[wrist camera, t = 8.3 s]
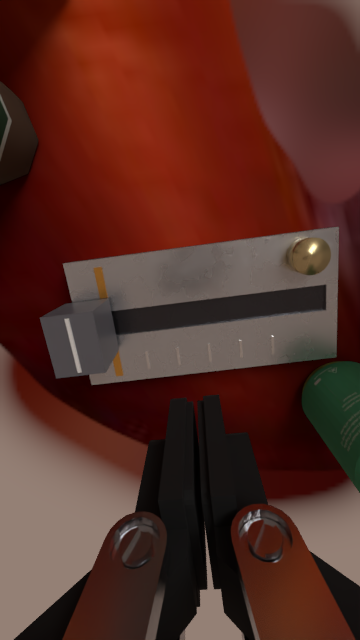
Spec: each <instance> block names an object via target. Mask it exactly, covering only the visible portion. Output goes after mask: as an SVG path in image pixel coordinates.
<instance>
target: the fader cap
mask: <svg viewBox="0 0 360 640" xmlns="http://www.w3.org/2000/svg"><path fill="white" fill-rule="evenodd" d="M40 321H41V324H42V328H43V332H44V335H45V339H46V343H47V346H48V350H49V354H50V357H51V361H52V365H53V368H54V372H55V376H56V378H64V377H73V376H82V375H90V374H99V373H106V372H107V370H108V368H109V366H110V365H111V363H112V361H113V359H114V358H115V356H116V354H117V353H118V351H119V347H118V342H117V337H116V332H115V327H114V322H113V317H112V312H111V307H110V302H109V298H107V299H99V300H91V301H84V302H76V303H68V304H64V305H62V306H60V307H59V308H57V309H55V310H53V311H51V312H50V313H48V314H46V315H44V316H42V317H41V318H40Z"/></svg>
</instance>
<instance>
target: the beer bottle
mask: <svg viewBox="0 0 360 640" xmlns="http://www.w3.org/2000/svg"><path fill="white" fill-rule="evenodd" d="M37 144H38V138H37V136H36V133H35V131H34V128H33V126H32V124H31V121H30V119H29V116H28V114H27V112H26V109H25V107H24V104H23V102H22V101H21V100H20V99H19V98H18V97H17V96H16V95H15V94H14V93H13V92H12V91H11V90H10V89H9V88H8V87H6V86H5V85H4V84H3V83H2V82H1V81H0V185H1V184H4V183H6V182H9V181H11V180H14V179H16V178H19V177H21V176H24V175H26V174H28V173H29V170H30V166H31V163H32V160H33V157H34V154H35V150H36V147H37Z"/></svg>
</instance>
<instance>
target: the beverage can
mask: <svg viewBox="0 0 360 640" xmlns="http://www.w3.org/2000/svg"><path fill="white" fill-rule="evenodd" d="M302 407H303V411H304V413H305V415H306V416H307V418H308V419H309V420H310V422H311V423H312V425H313V426H314V428H315V429H316V431H317V432H318V433H319V435H320V436H321V438H322V439H323V441H324V442H325V443H326V445H327V446H328V448H329V449H330V451H331V452H332V454H333V455H334V456H335V458H336V459H337V461H338V462H339V464H340V465H341V466H342V468H343V469H344V471H345V472H346V474H347V475H348V477H349V478H350V479H351V481H352V482H353V484H354V485H355V487H356V488H357V489H358V491H359V492H360V363H357V362H351V361H336V362H330V363H327V364H325V365H322V366H320V367H319V368H317V369H316V370H315V371H313V372H312V373H311V374H310V375H309V377H308V378H307V380H306V382H305V384H304V386H303V390H302Z"/></svg>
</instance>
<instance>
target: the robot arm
mask: <svg viewBox="0 0 360 640" xmlns="http://www.w3.org/2000/svg"><path fill="white" fill-rule="evenodd" d="M198 428H199V443H198V436H197V428H196V421H195V413H194V406H193V401H192V402H187V399H186V398H178V399H171V400H170V408H169V416H168V424H167V432H166V439H163V440H151V441H150V442H149V445H148V451H147V455H146V461H145V465H144V470H143V475H142V480H141V485H140V490H139V495H138V500H137V505H136V510H135V513H132V514H129V515H126V516H125V517H123V518H122V519H120V520H119V521H118V522H117V523H116V524H115V525H114V526H113V527H112V528H111V529H110V531H109V533H108V534H107V536H106V538H105V540H104V542H103V545H102V547H101V549H100V552H99V554H98V556H97V559H96V561H95V564H94V566H93V568H92V570H91V571H90V572H88V573H87V574H86V575H85V576H84V577H83V578H82V579H81V580H80V581H78V582H77V583H76V584H75V585H74V586H73V587H72V588H71V589H69V590H68V591H67V592H66V593H65V594H64V595H63V596H62V597H61V598H60V599H58V600H57V601H56V602H55V603H54V604H53V605H52V606H51V607H49V608H48V609H47V610H46V611H45V612H44V613H43V614H42V615H41V616H39V617H38V618H37V619H36V620H35V621H34V622H33V623H32V624H30V625H29V626H28V627H27V628H26V629H25V630H24V631H23V632H22V633H20V635H18V636H17V637H16V638H15V639H14V640H185V628H186V627H187V626H188V624H189V623H190V622H191V620H192V619H193V618H194V616H195V615H196V614H197V610H196V609H197V607H200V590H206V589H207V568H206V567H207V566H206V545H205V528H206V535H207V542H208V550H209V556H210V564H211V571H212V578H213V585H214V589H221V592H222V600H223V607H224V613H225V614H226V615H227V616H228V617H229V618H230V619H231V621H232V622H233V623H234V624H235V625H236V626H237V627H238V628H239V629H240V630H241V632H242V639H243V640H360V586H359V585H357V584H356V583H354V582H353V581H351V580H350V579H349V578H347V577H346V576H344V575H343V574H341V573H340V572H339V571H337V570H336V569H334V568H333V567H332V566H330V565H329V564H327V563H326V562H324V561H323V560H322V559H320V558H319V557H317V556H316V555H314V554H313V553H312V552H310V551H309V550H308V548H307V546H306V544H305V542H304V540H303V538H302V536H301V535H300V532H299V531H298V528H297V527H296V525H295V524H294V523H293V521H292V520H291V518H290V517H289V516H288V515H286V514H285V513H284V512H283V511H282V510H280V509H278V508H275V507H274V506H271V505H268V502H267V499H266V496H265V492H264V489H263V485H262V481H261V478H260V474H259V471H258V467H257V464H256V460H255V457H254V453H253V450H252V446H251V443H250V439H249V436H248V433H247V432H246V433H234V434H225V428H224V423H223V417H222V411H221V405H220V399H219V395H210V396H203V401H198ZM204 521H205V523H204Z"/></svg>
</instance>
